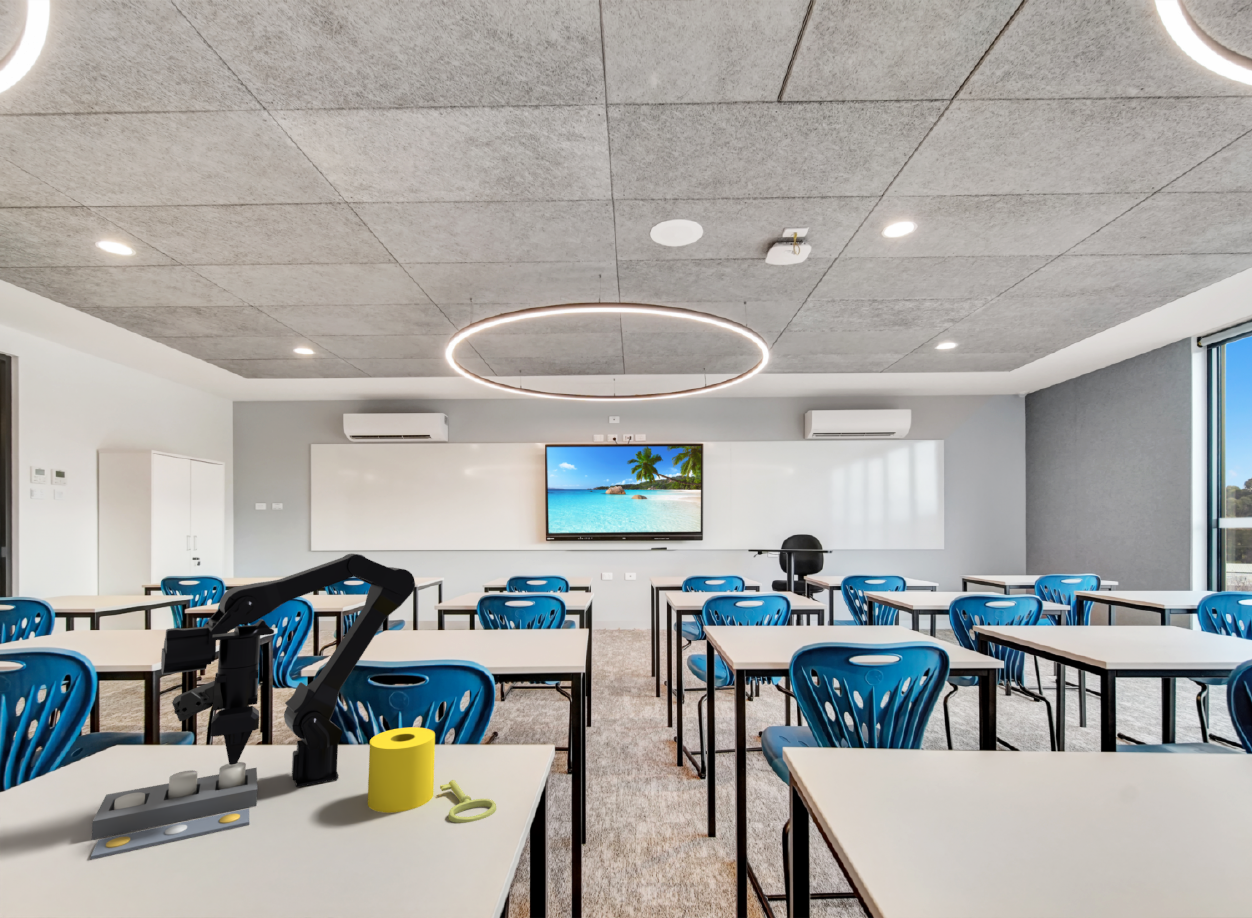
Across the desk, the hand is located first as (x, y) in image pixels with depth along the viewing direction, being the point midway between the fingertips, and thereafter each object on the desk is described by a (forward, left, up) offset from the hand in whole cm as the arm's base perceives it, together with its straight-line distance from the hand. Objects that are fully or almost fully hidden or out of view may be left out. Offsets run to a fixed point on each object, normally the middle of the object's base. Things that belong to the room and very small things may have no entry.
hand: (233, 763), depth 100 cm
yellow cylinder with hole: (-23, +14, -6) cm, 28 cm away
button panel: (+7, 0, -5) cm, 9 cm away
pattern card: (+7, +9, -5) cm, 12 cm away
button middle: (+6, 0, -3) cm, 7 cm away
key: (-31, +22, -6) cm, 39 cm away
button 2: (0, 0, -3) cm, 3 cm away
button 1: (+13, 0, -5) cm, 14 cm away
